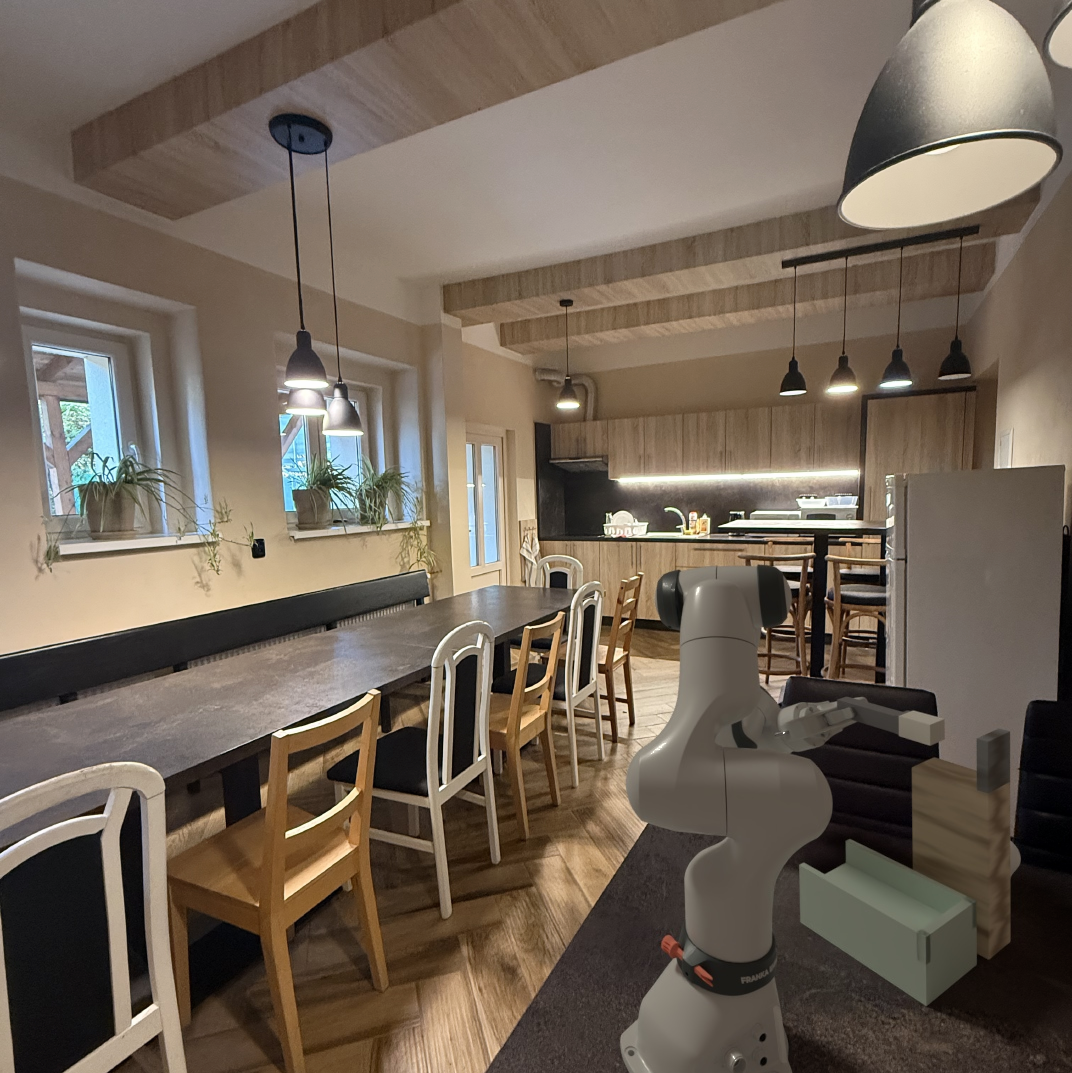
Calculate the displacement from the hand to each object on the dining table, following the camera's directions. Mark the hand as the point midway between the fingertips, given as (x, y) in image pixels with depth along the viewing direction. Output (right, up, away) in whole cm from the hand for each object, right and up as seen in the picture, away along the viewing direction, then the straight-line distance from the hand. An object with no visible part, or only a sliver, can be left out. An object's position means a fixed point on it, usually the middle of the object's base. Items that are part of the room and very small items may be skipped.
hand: (861, 708), depth 110 cm
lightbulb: (+21, -32, -5) cm, 39 cm away
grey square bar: (+2, -2, -4) cm, 5 cm away
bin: (-4, -33, -15) cm, 37 cm away
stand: (+9, -32, -13) cm, 36 cm away
